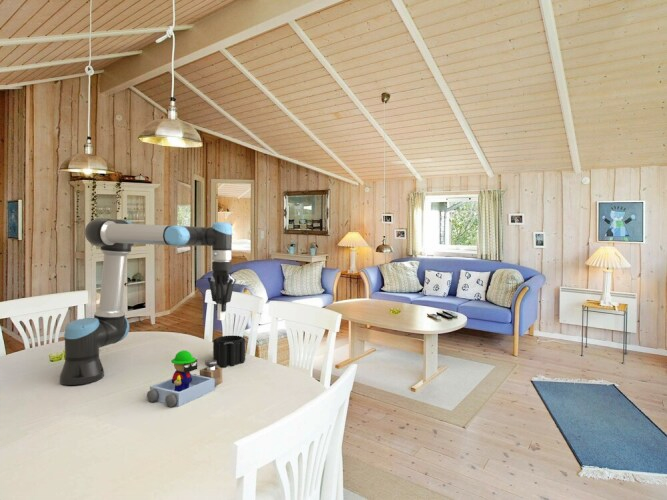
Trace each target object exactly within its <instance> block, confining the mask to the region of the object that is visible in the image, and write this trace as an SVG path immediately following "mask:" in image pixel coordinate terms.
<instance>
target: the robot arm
mask: <svg viewBox="0 0 667 500" xmlns="http://www.w3.org/2000/svg"><path fill="white" fill-rule="evenodd" d="M232 228H233V226H232V224H231V222H221V221H220V222H217V221H216V222H213V223H212V226H207V227H206V226H205V227H204V226H190V225H189V226H187V225H181V224H180V225H178V224H176V225H169V224H168V225H165V224H163V225H162V224H142V223H141V224H137V223H135V224H134V223H133V222H131V221H129V220H125V219H116V218H113V219H112V218H103V217H102V218H96V219H92V220H91V221H90V222H88V223H87V224H86V226H85V228H84V235H85V239H86V240H87V241H88V242H89V244H91V245H93V246H96V247H100V249H99V250H100V251H101V252H102V253H103V263H102V272H101V273H102V274H101V282H100V283H101V284H100V293H99V305H98V306H99V307H98V310H96V311H95V312H94V316H93V317H85V318H79V319H75V320H72V321H70V322H68V323H67V324H66V325H65V329H64V334H63V335H64V364H63V367H62V370H61V372H60V375H59V383H60V384H62V385H68V386H74V385H75V386H76V385H84V384H88V383H93V382H96V381H99V380H102V379H103V378H104V377H105V369H104V367H103V364H102V361H101V359H100V348H103V347H106V346H110V345H114V344H117V343H119V342H120V341H123V340H125V338H126V337H127V336H128V334H129V331H130V322H129V321H128V318H127V317H126V315H125V314H126V313H125V312H124V311H123V310H122V306H123V298H124V285H125V277H126V275H125V274H126V265H127V256H128V255H129V254H131V253H132V247H133V246H135V245H158V246H160V245H161V246H174V247H184V246H185V247H186V246H187V247H196V246H199V247H203V246H205V247H208V246H209V247H212V256H211V257H212V259H211V260H212V262H211V270H212V275H211V276H210V277H207V281H208V283H209V289H210V294H211V301H212V302H215V303H216V304H215V305H216V306H215V307H216V312H217V316H216V317H217V319H216V320H217V321H223V320H226V312H227V304H228V303H230V302H231V299H232V294H233V290H234V285H235V283H236V281H237V280H236V278H233V277H232V274H231V271H232V264H233V263H232V258H233V257H232V255H233V254H232V253H233V250H232V247H233V246H232V241H233V229H232Z"/></svg>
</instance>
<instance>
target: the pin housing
mask: <svg viewBox="0 0 667 500" xmlns="http://www.w3.org/2000/svg"><path fill="white" fill-rule="evenodd" d="M199 376H204V377H209V378H214V379H215V380H216V382H217V385H216V387H217V386H219V385H221V384H223V368H220V367H219V366H215V370H213V371H208V370H207V366H205V368H204V367H203V368H201V369H199Z"/></svg>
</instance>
